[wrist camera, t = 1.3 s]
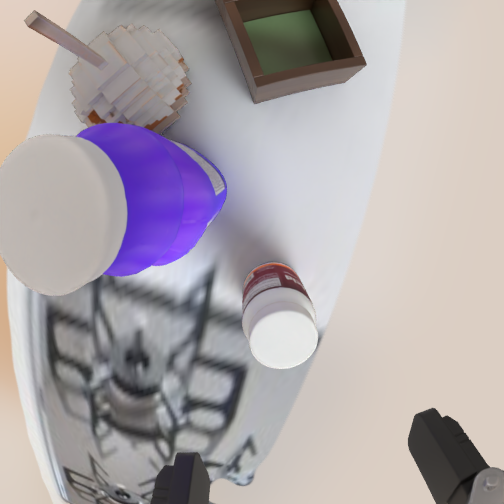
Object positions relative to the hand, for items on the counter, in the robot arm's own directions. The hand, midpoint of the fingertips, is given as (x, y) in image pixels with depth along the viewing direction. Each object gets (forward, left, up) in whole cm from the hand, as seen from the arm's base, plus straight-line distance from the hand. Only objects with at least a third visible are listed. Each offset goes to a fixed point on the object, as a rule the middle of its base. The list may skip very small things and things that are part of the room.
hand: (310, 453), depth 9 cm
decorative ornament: (-17, -8, -17) cm, 25 cm away
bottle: (-9, -6, -17) cm, 20 cm away
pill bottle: (0, 0, -17) cm, 17 cm away
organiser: (-26, +2, -17) cm, 31 cm away
